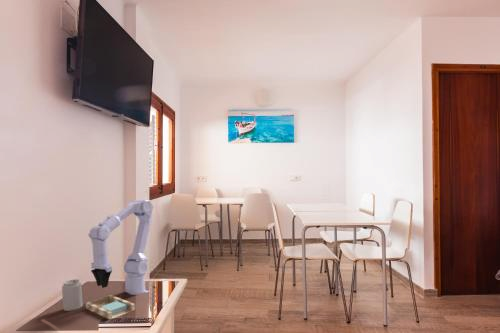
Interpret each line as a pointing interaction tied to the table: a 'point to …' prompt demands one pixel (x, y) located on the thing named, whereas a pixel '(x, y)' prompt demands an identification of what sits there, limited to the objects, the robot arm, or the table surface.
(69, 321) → the table surface
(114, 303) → the pale teal square slab
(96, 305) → the tray
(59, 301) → the table surface
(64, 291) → the can
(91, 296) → the table surface
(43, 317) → the table surface
